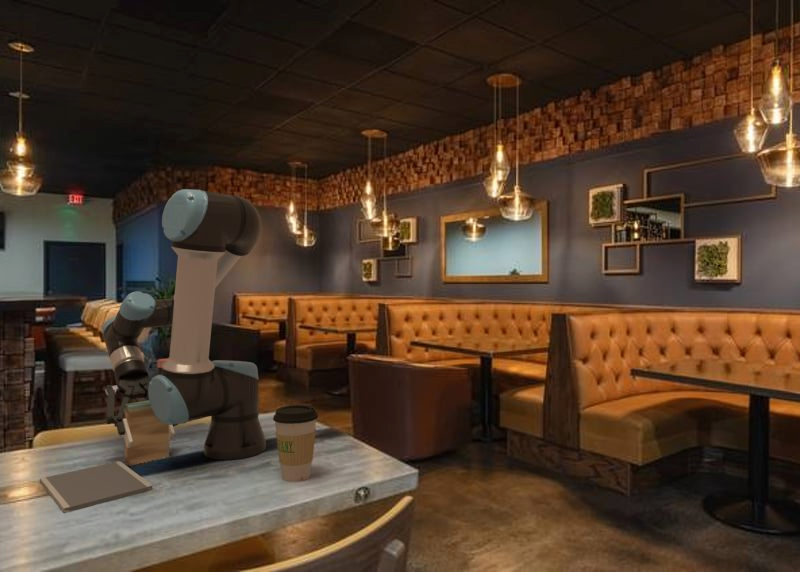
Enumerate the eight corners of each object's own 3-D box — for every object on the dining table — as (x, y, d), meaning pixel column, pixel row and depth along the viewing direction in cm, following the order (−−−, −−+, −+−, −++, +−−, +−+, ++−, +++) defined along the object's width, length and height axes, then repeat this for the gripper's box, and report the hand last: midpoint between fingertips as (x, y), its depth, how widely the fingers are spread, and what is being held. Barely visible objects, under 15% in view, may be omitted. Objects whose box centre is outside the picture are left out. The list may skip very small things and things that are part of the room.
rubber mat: (40, 482, 116) (39, 478, 116) (119, 464, 127) (119, 460, 127) (63, 512, 100) (63, 508, 100) (152, 489, 111) (152, 485, 111)
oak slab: (124, 461, 129) (124, 404, 129) (163, 453, 135) (162, 398, 135) (130, 465, 126) (129, 406, 126) (168, 457, 132) (168, 400, 132)
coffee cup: (277, 469, 123) (276, 404, 123) (320, 468, 124) (319, 403, 124) (270, 485, 113) (269, 415, 113) (317, 484, 114) (316, 414, 114)
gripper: (167, 371, 149) (191, 439, 138) (79, 381, 134) (98, 459, 123) (175, 354, 145) (200, 423, 134) (85, 362, 130) (104, 441, 119)
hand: (151, 440), depth 128 cm, fingers closed on oak slab, 9 cm apart
